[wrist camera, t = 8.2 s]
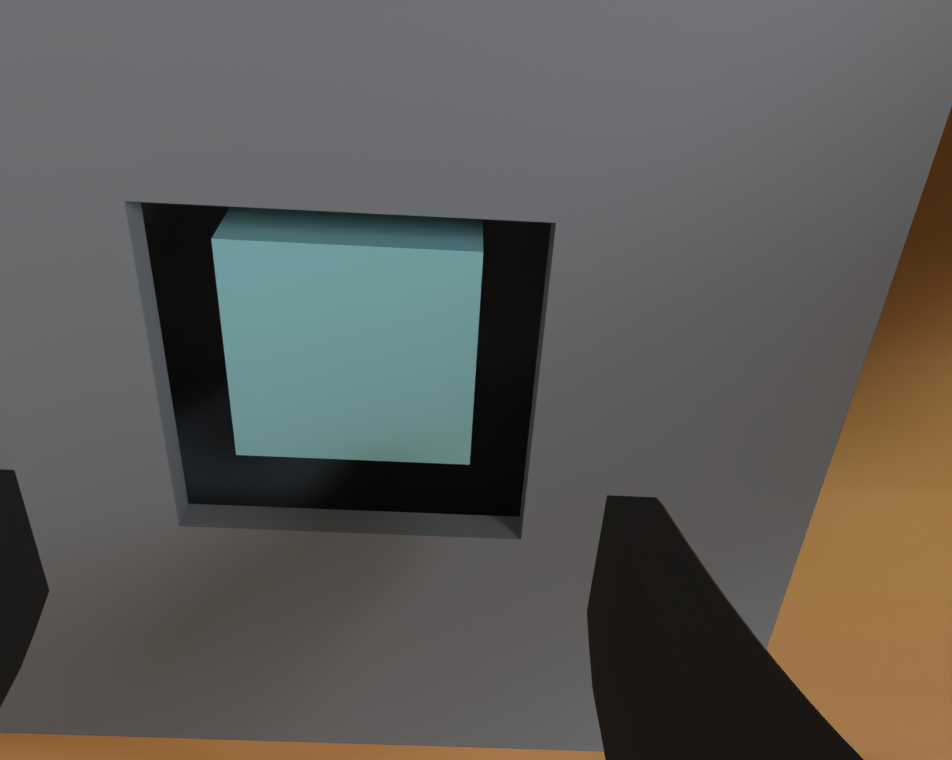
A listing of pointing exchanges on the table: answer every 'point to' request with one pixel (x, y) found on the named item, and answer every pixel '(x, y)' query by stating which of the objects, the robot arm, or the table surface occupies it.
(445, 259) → the teal rectangular block
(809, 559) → the table surface
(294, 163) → the gray slotted box
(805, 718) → the robot arm
